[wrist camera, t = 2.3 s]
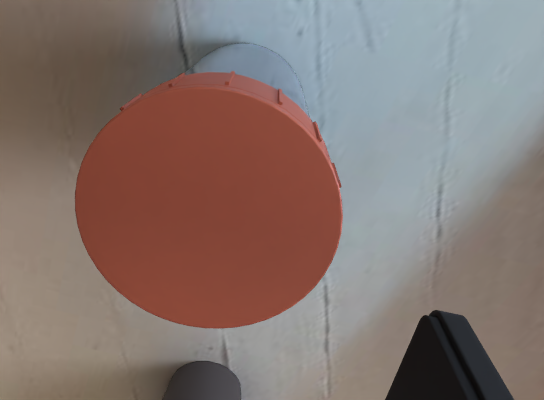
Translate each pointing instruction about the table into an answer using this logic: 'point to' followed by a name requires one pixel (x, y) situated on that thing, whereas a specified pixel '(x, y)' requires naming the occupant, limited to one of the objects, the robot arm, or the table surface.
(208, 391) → the coffee cup
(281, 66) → the thermos
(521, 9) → the table surface
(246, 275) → the lid
